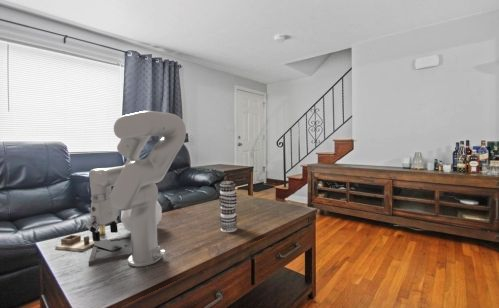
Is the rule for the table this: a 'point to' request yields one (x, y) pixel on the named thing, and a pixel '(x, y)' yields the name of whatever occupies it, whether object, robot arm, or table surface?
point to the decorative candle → (228, 206)
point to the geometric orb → (126, 214)
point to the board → (75, 243)
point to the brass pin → (102, 230)
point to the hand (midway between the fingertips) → (105, 236)
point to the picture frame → (110, 250)
